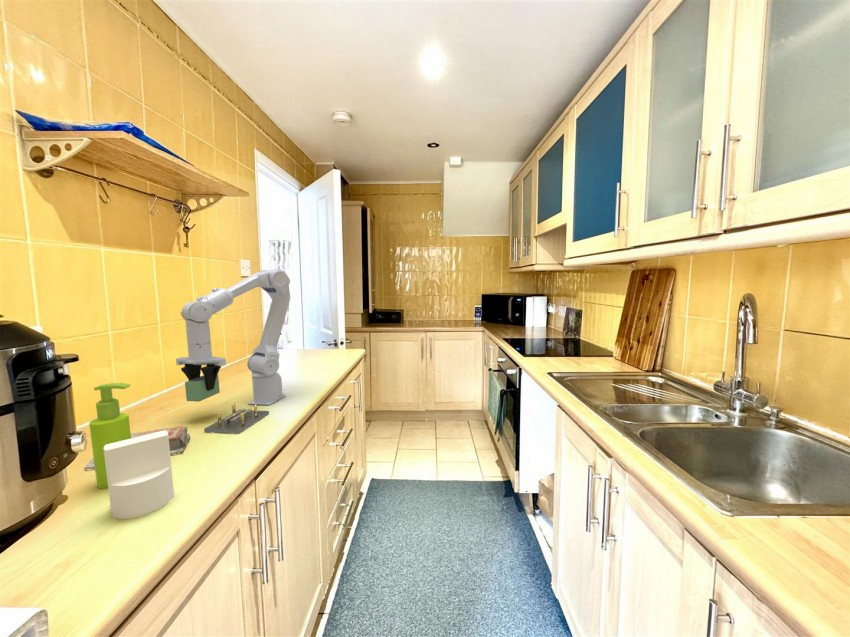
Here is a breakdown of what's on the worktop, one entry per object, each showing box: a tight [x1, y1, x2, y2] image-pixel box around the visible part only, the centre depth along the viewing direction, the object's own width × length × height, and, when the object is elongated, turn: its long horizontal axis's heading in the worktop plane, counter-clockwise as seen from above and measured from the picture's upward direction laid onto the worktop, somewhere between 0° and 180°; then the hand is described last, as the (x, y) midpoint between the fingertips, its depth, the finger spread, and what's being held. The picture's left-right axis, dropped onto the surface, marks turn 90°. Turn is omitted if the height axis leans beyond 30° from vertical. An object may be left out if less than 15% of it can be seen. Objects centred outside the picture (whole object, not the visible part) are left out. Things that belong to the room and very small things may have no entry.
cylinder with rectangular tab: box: [104, 430, 175, 520], centre depth 65 cm, size 9×9×12 cm
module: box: [184, 374, 221, 403], centre depth 104 cm, size 8×4×6 cm, turn 171°
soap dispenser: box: [88, 382, 132, 490], centre depth 72 cm, size 6×7×20 cm
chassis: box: [203, 403, 270, 435], centre depth 101 cm, size 14×10×4 cm
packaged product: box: [83, 425, 192, 471], centre depth 84 cm, size 18×5×10 cm
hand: (203, 389), depth 104 cm, fingers closed on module, 4 cm apart
